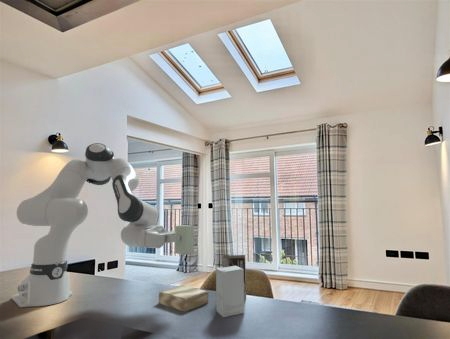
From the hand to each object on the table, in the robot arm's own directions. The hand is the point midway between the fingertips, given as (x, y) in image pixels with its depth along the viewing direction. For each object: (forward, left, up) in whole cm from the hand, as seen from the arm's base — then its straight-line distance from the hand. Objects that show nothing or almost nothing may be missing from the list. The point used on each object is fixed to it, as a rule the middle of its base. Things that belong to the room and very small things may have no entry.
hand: (185, 237), depth 111 cm
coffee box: (+11, +16, -24) cm, 31 cm away
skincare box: (+18, +2, -24) cm, 31 cm away
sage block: (0, 0, -6) cm, 6 cm away
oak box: (-2, +1, -25) cm, 25 cm away
